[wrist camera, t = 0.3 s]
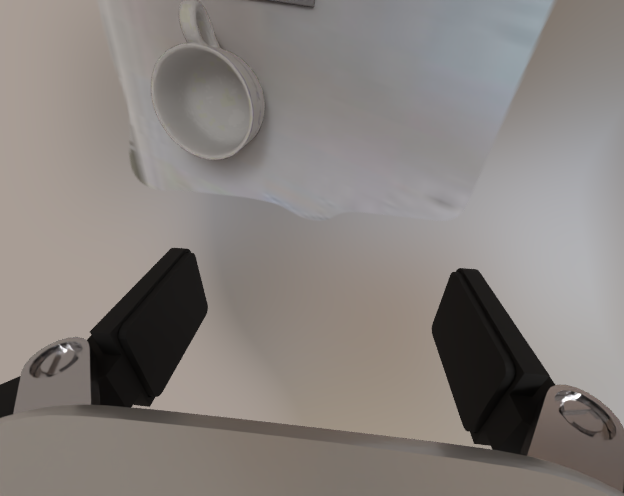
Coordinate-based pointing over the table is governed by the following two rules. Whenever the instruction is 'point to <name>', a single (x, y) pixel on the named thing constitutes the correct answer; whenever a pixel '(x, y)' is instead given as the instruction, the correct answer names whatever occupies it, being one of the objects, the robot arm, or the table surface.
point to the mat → (298, 2)
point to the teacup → (206, 91)
